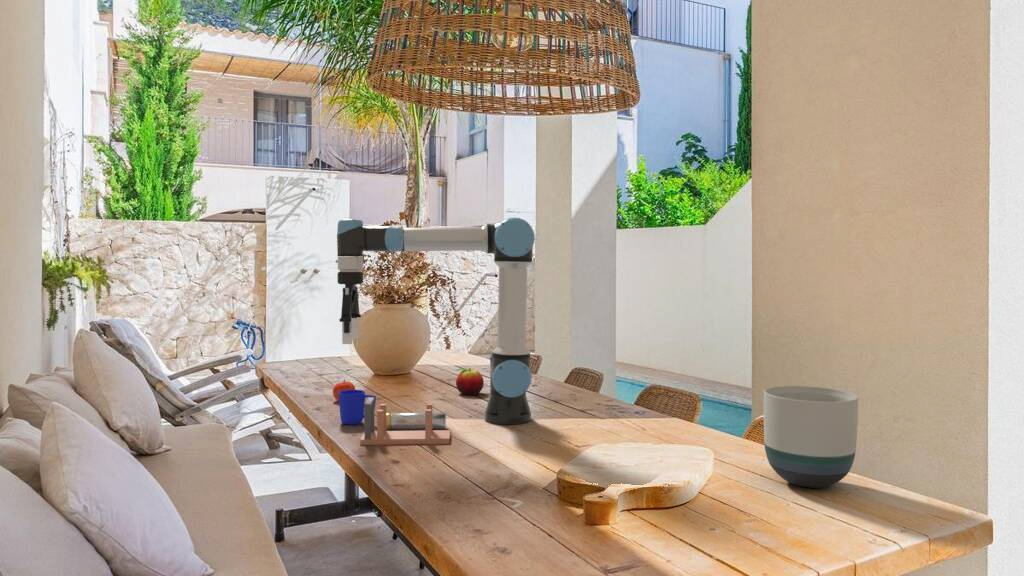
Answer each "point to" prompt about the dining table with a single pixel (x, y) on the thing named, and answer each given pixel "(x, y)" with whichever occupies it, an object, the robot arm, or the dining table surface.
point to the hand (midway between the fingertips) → (350, 341)
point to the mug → (352, 406)
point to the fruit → (469, 382)
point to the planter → (810, 433)
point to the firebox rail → (398, 436)
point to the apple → (342, 388)
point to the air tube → (413, 421)
